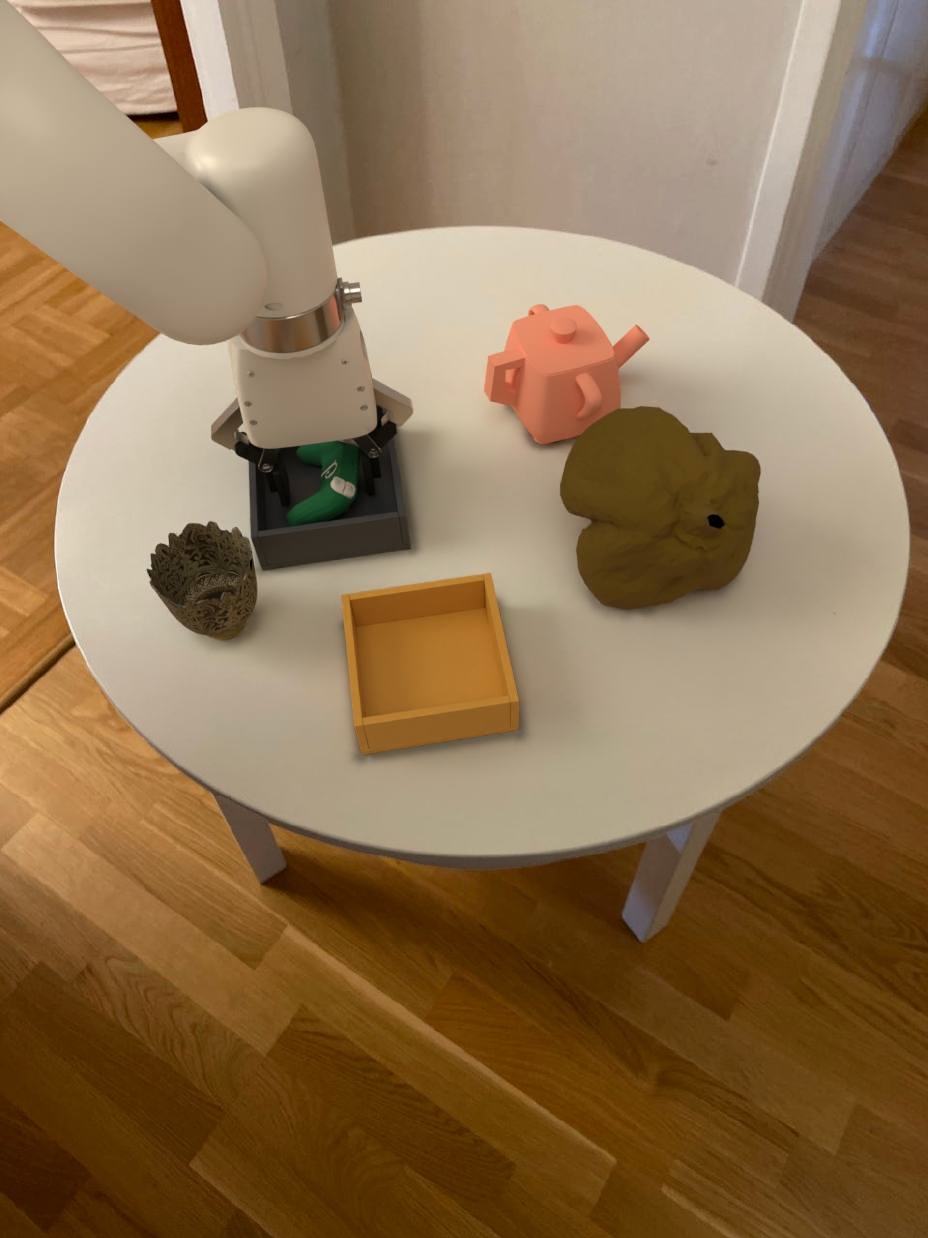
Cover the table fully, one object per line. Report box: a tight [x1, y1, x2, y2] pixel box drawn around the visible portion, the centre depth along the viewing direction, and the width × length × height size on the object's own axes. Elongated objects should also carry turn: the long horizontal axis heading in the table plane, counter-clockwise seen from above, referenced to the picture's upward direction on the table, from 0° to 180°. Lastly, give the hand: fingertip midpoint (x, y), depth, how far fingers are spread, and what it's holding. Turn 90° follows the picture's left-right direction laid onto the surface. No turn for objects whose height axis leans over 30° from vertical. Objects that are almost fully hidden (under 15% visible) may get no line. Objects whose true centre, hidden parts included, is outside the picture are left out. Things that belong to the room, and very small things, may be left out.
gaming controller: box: [286, 438, 360, 527], centre depth 78 cm, size 9×4×6 cm
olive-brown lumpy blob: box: [559, 405, 762, 611], centre depth 69 cm, size 14×14×14 cm
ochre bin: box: [340, 572, 520, 755], centre depth 67 cm, size 11×11×4 cm
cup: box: [146, 520, 258, 641], centre depth 69 cm, size 8×7×8 cm
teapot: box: [483, 303, 651, 445], centre depth 81 cm, size 12×12×10 cm
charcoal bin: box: [247, 405, 412, 571], centre depth 78 cm, size 12×14×4 cm
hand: (327, 486), depth 79 cm, fingers closed on gaming controller, 6 cm apart
